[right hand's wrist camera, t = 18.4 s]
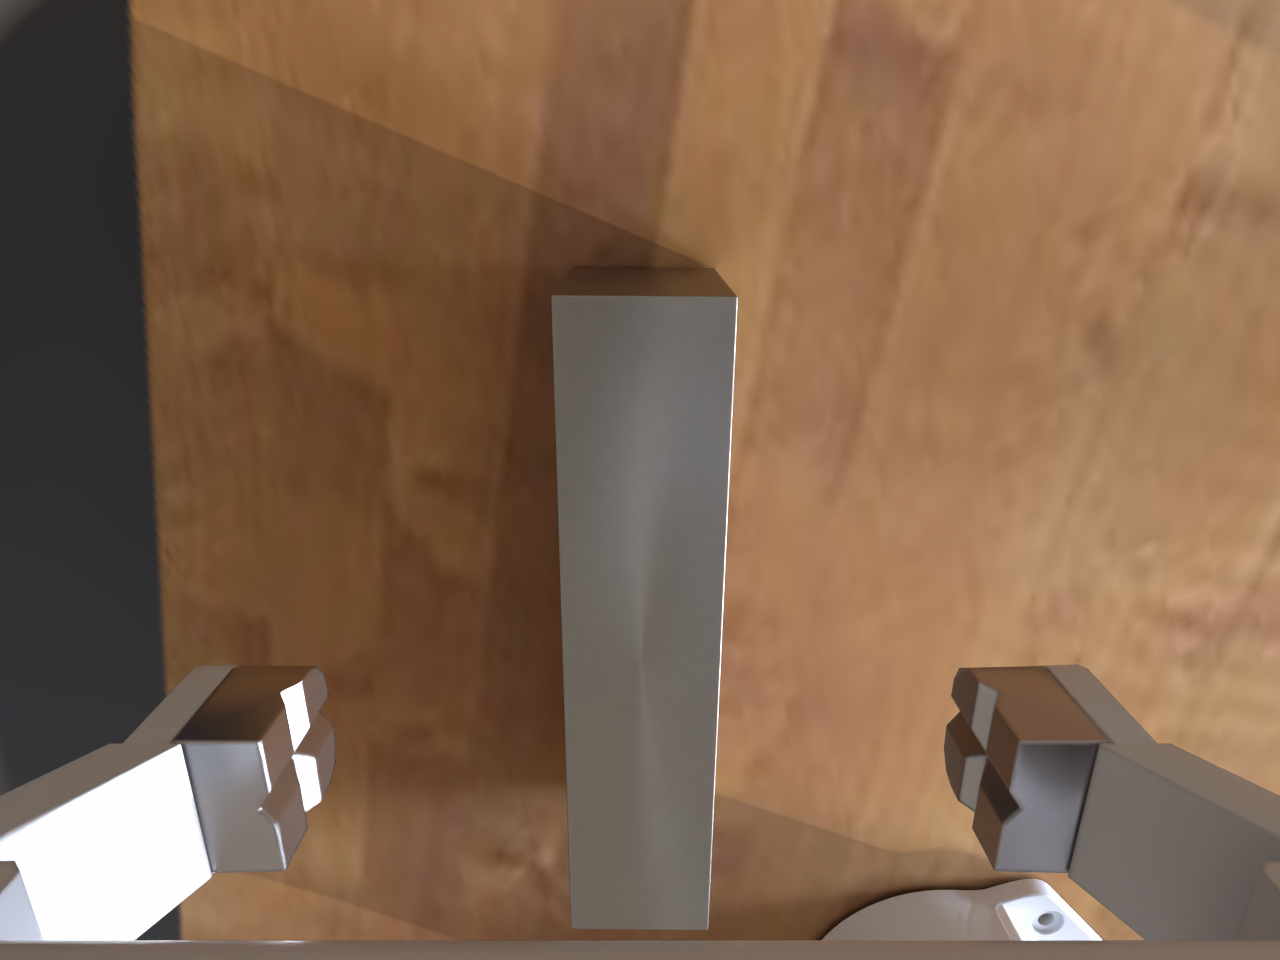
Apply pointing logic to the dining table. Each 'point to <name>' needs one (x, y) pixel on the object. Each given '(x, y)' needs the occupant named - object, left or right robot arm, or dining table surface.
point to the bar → (642, 583)
